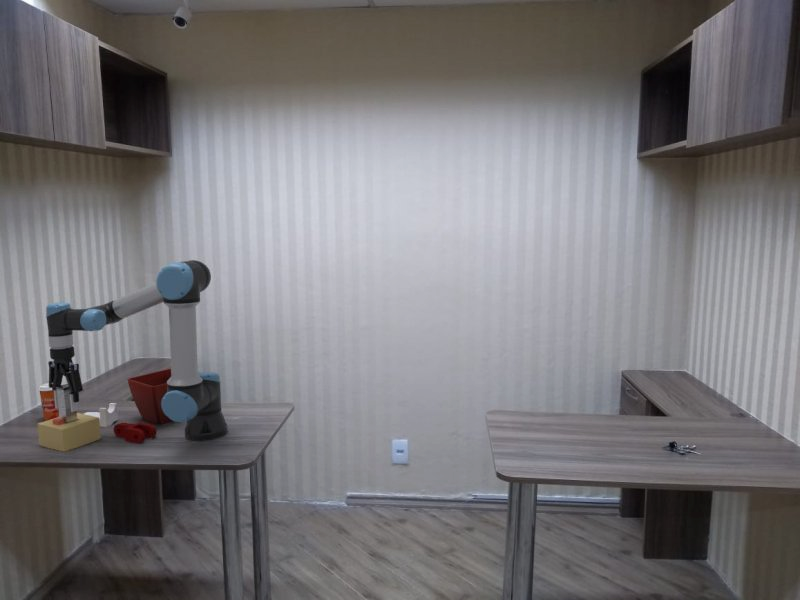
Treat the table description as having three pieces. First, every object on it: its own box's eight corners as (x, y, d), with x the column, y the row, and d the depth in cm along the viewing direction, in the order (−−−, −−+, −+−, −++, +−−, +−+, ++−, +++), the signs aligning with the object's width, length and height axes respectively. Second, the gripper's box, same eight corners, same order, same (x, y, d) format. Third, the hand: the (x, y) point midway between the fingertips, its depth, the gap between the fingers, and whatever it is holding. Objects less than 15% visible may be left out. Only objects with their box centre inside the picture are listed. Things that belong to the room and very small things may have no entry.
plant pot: (155, 429, 229) (152, 386, 226) (129, 419, 240) (126, 378, 238) (199, 415, 244) (196, 375, 241) (172, 407, 255) (169, 368, 253)
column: (80, 440, 217) (75, 385, 214) (68, 445, 213) (63, 388, 210) (72, 438, 219) (67, 383, 217) (60, 443, 215) (55, 386, 213)
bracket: (118, 421, 238) (116, 403, 237) (107, 427, 231) (105, 409, 230) (88, 420, 240) (86, 402, 239) (76, 426, 233) (74, 407, 232)
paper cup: (37, 422, 238) (33, 387, 236) (47, 415, 246) (44, 382, 244) (57, 421, 238) (54, 387, 237) (67, 415, 246) (64, 382, 244)
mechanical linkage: (156, 437, 220) (156, 424, 219) (141, 444, 214) (140, 431, 213) (124, 432, 226) (123, 419, 226) (108, 438, 220) (107, 425, 219)
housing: (100, 438, 219) (98, 413, 218) (64, 452, 207) (61, 425, 206) (76, 432, 226) (74, 408, 224) (39, 445, 214) (36, 419, 212)
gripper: (90, 347, 210) (96, 410, 213) (53, 342, 220) (59, 402, 223) (70, 351, 203) (76, 416, 206) (33, 346, 213) (39, 407, 216)
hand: (67, 408), depth 215 cm, fingers open, 8 cm apart
